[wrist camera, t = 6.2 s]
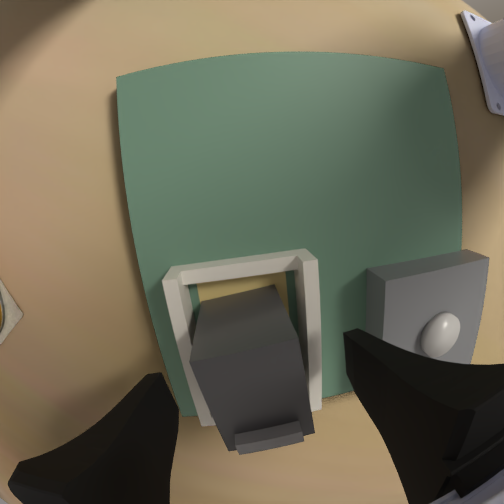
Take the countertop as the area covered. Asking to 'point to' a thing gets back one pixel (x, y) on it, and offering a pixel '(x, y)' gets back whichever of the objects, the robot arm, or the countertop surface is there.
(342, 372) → the board
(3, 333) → the condiment
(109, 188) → the countertop surface
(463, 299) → the grey knob block
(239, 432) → the plug
